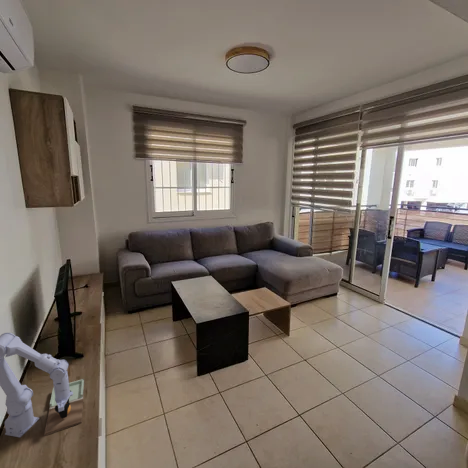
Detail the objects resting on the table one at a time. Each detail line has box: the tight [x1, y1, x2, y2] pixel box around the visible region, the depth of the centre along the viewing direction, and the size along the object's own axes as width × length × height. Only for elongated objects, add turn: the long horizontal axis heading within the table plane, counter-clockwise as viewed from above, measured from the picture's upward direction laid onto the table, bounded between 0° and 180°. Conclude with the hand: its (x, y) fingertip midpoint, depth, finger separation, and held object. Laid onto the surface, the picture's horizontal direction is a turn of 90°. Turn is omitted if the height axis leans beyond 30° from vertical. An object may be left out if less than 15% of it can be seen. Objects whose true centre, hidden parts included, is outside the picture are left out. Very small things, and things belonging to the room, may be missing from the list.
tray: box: [49, 378, 85, 408], centre depth 134 cm, size 12×14×2 cm
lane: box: [43, 388, 85, 437], centre depth 127 cm, size 27×14×1 cm, turn 27°
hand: (64, 412), depth 122 cm, fingers closed on ball, 5 cm apart
